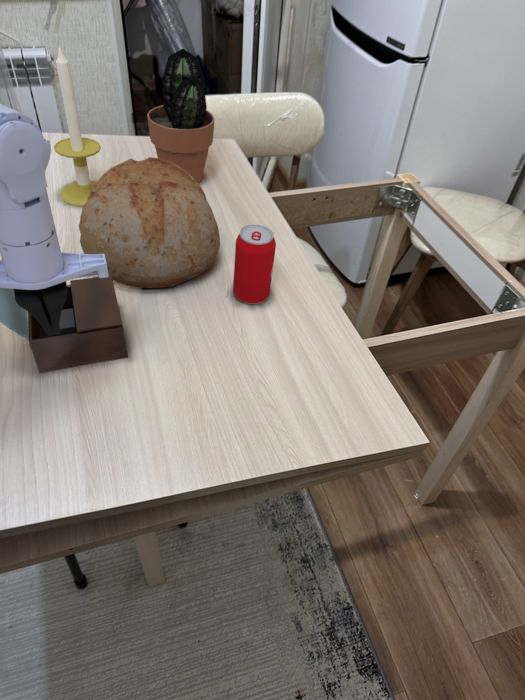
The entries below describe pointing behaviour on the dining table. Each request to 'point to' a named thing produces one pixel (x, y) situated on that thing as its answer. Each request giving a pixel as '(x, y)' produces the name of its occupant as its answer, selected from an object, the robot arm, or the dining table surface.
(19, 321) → the door
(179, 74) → the potted plant
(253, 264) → the beverage can
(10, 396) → the dining table surface
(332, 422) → the dining table surface
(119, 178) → the bread
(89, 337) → the box
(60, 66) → the candle
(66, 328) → the block
